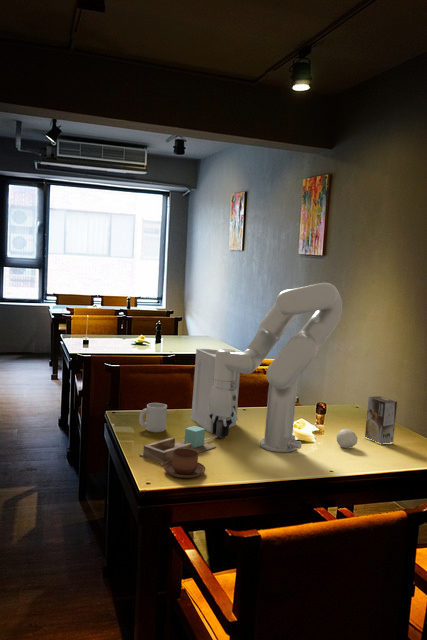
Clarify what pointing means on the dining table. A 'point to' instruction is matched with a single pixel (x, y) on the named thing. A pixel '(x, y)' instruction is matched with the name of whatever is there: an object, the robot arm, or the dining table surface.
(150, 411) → the cup
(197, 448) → the lane
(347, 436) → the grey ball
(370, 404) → the coffee box
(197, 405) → the tall white carton
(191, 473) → the cup and saucer
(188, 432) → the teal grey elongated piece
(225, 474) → the dining table surface
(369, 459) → the dining table surface
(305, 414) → the dining table surface
